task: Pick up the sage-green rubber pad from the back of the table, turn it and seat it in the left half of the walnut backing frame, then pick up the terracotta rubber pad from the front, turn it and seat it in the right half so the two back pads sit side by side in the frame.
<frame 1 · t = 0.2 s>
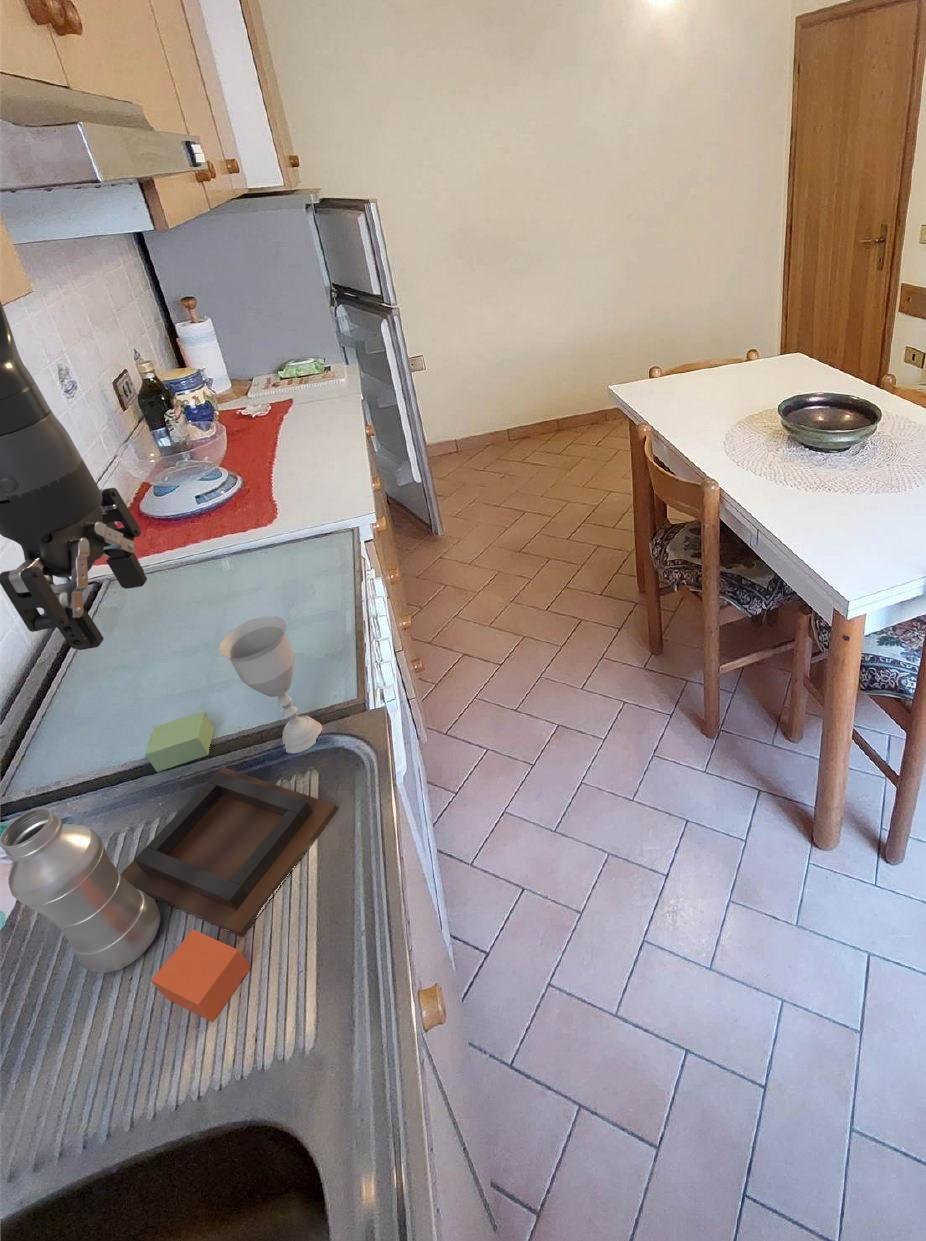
hand: (114, 614, 65), 31 cm above the worktop, tool pointing down, fingers open, 8 cm apart
chalice: (302, 737, 88), on the worktop
terracotta pad: (209, 983, 64), on the worktop
back frame: (233, 845, 76), on the worktop
sage pad: (186, 749, 88), on the worktop
metal milk can: (131, 945, 68), on the worktop
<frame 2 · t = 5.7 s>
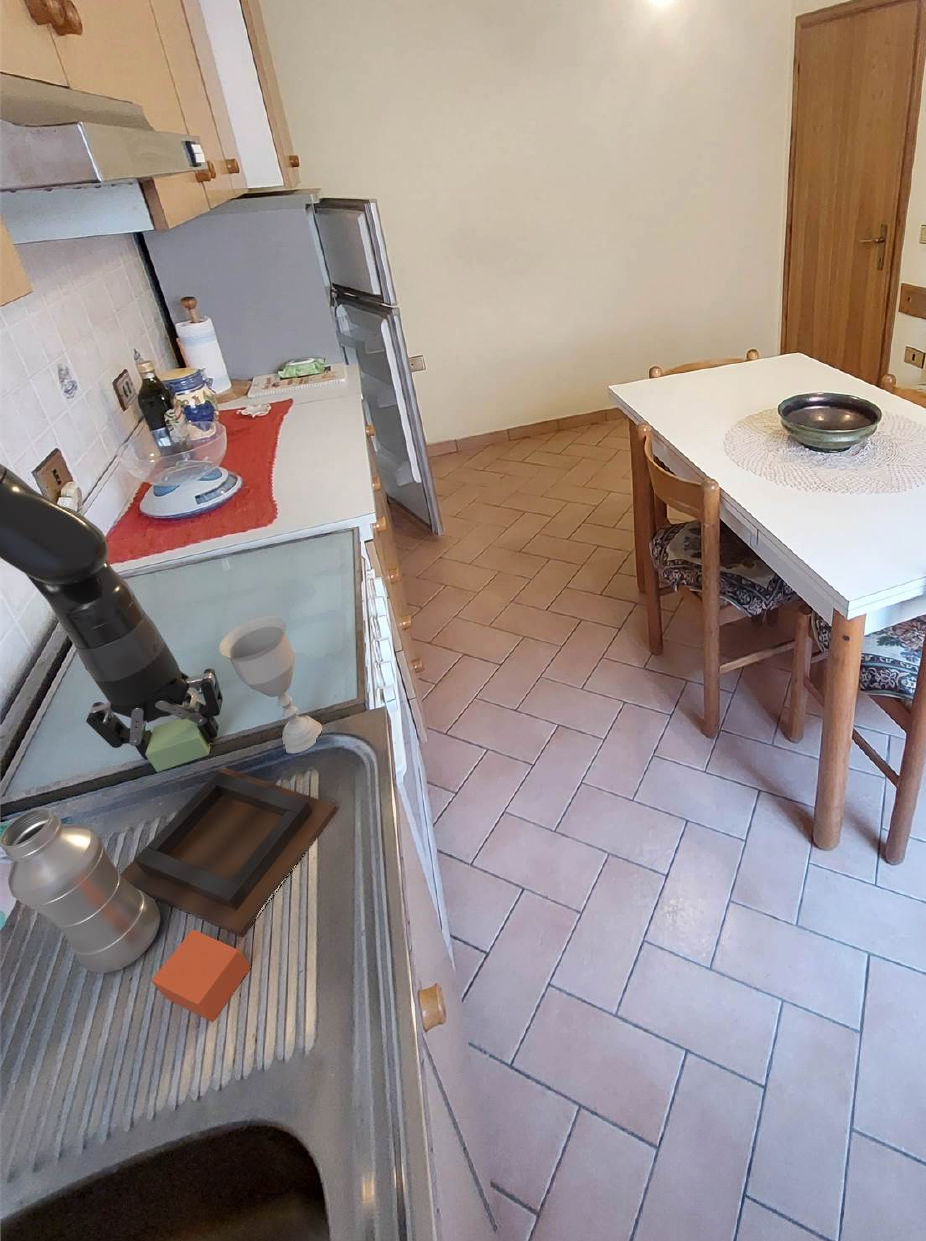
hand: (184, 746, 88), 1 cm above the worktop, tool pointing down, fingers closed on sage pad, 6 cm apart
sage pad: (186, 749, 88), on the worktop, touching gripper
everything else where it was.
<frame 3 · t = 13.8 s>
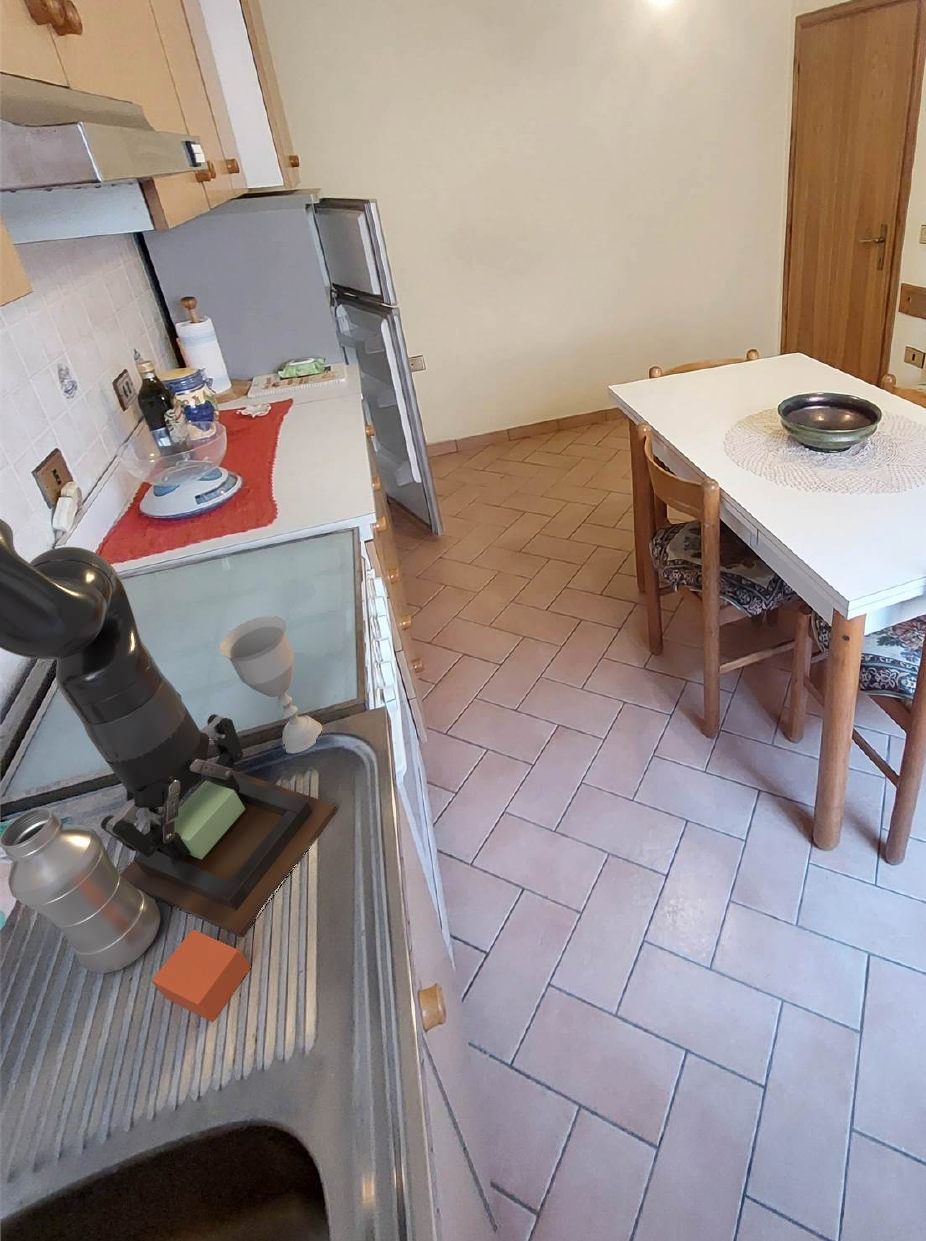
hand: (207, 824, 75), 3 cm above the worktop, tool pointing down, fingers closed on sage pad, 6 cm apart
sage pad: (209, 828, 76), point 2 cm above the worktop, touching gripper
everything else where it was.
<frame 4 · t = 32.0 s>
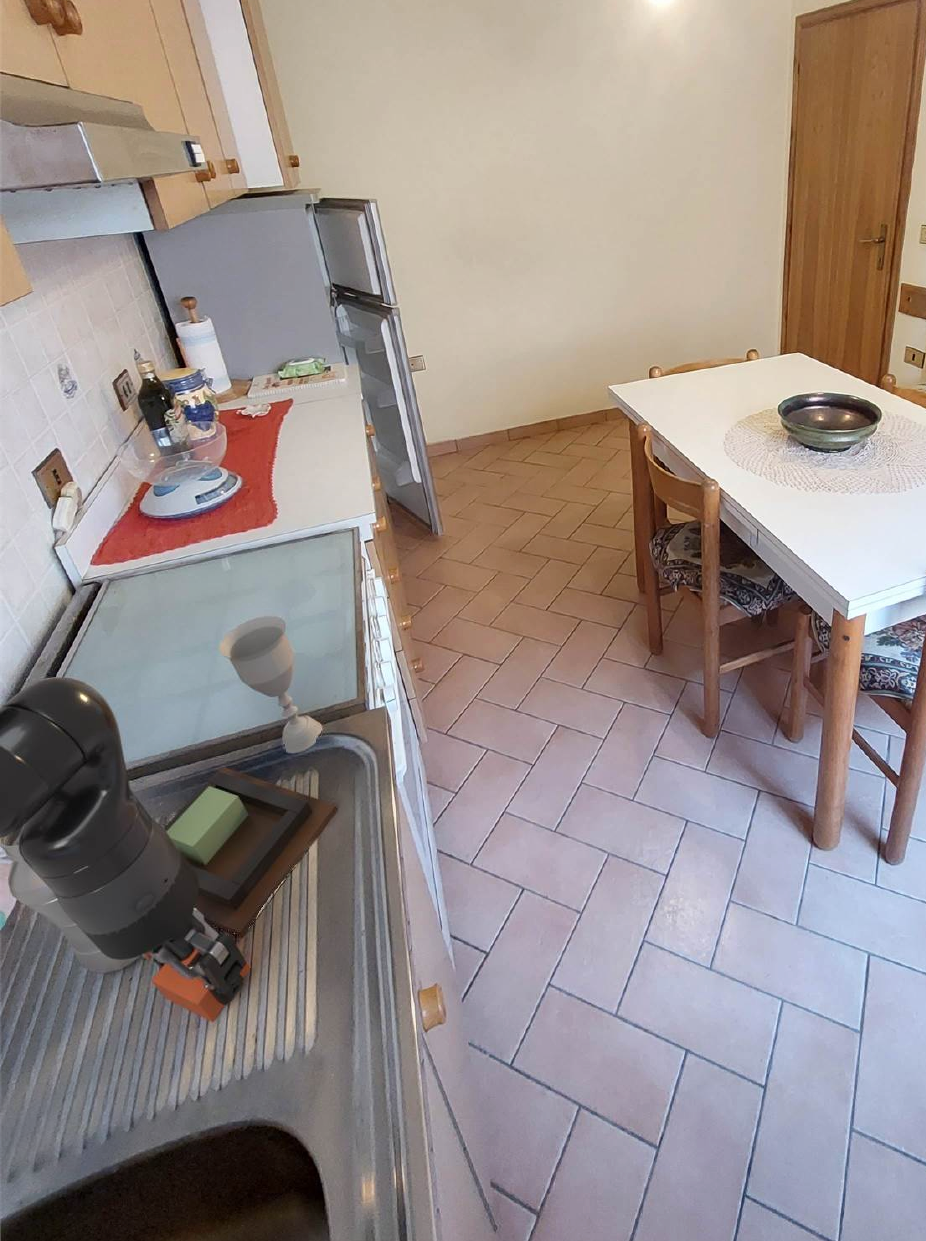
hand: (207, 979, 64), 1 cm above the worktop, tool pointing down, fingers closed on terracotta pad, 6 cm apart
terracotta pad: (209, 983, 64), on the worktop, touching gripper
sage pad: (213, 833, 76), point 1 cm above the worktop, touching back frame
everything else where it was.
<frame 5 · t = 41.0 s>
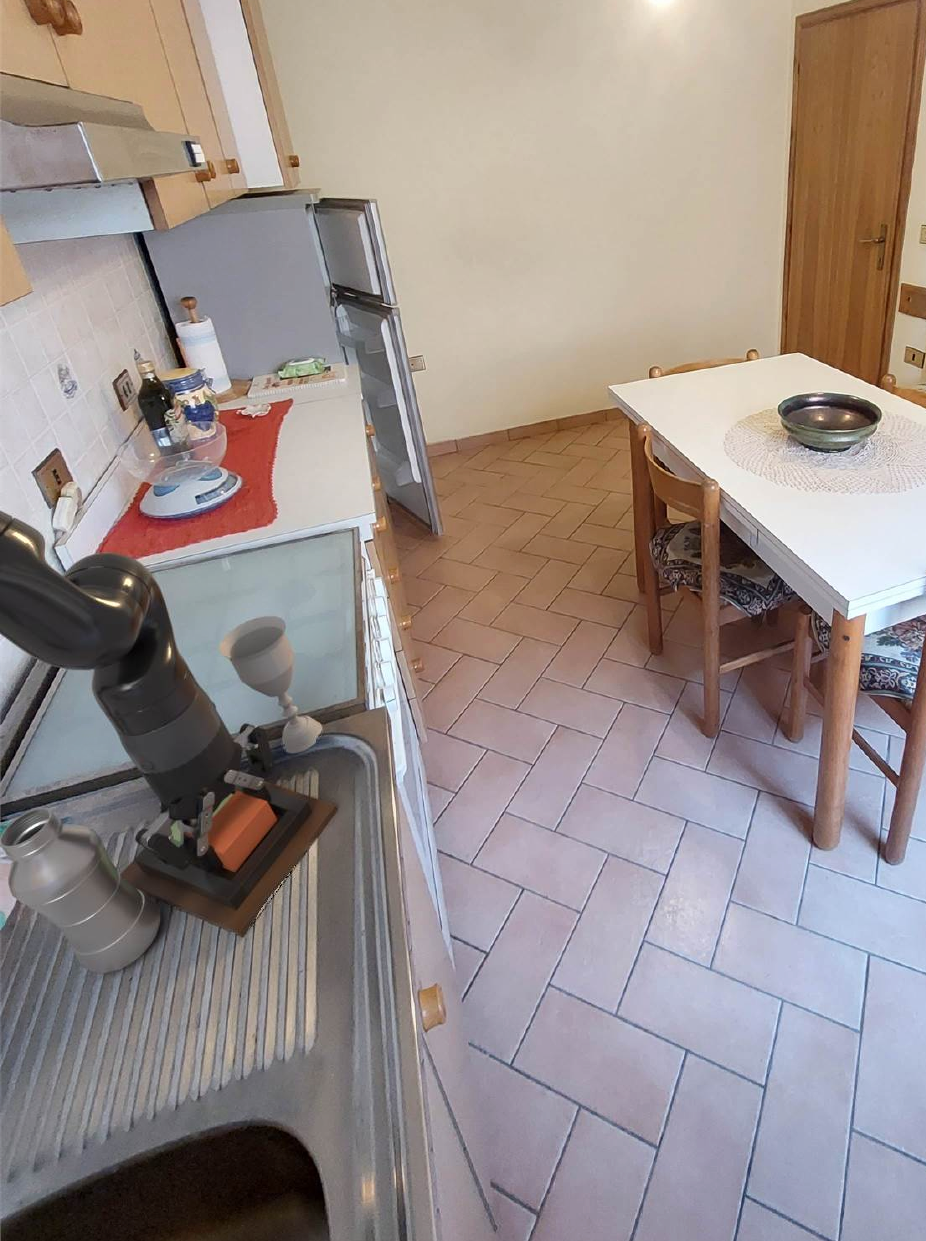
hand: (239, 836, 73), 3 cm above the worktop, tool pointing down, fingers closed on terracotta pad, 6 cm apart
terracotta pad: (241, 839, 74), point 2 cm above the worktop, touching gripper
everything else where it was.
when the fingers open (4 cm above the worktop, at t = 51.4 s): terracotta pad drops 2 cm, resting on back frame.
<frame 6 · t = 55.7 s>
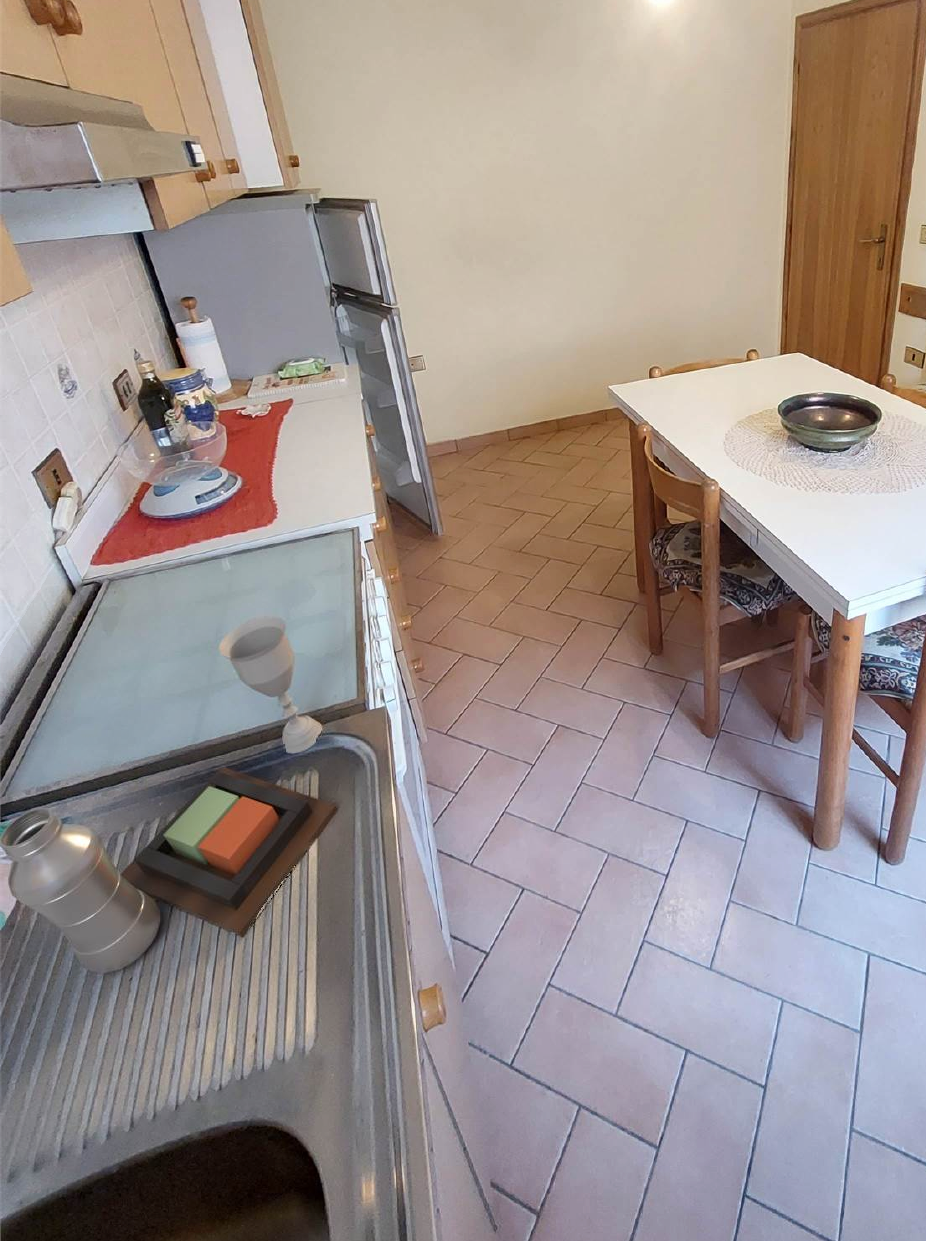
terracotta pad: (247, 844, 75), point 1 cm above the worktop, touching back frame
everything else where it was.
at the end: sage pad 0.0 cm from the target spot on the back frame, point 1.0 cm above the back frame's base; terracotta pad 0.2 cm from the target spot on the back frame, point 1.0 cm above the back frame's base; terracotta pad 5.0 cm from the sage pad (horizontally) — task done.
